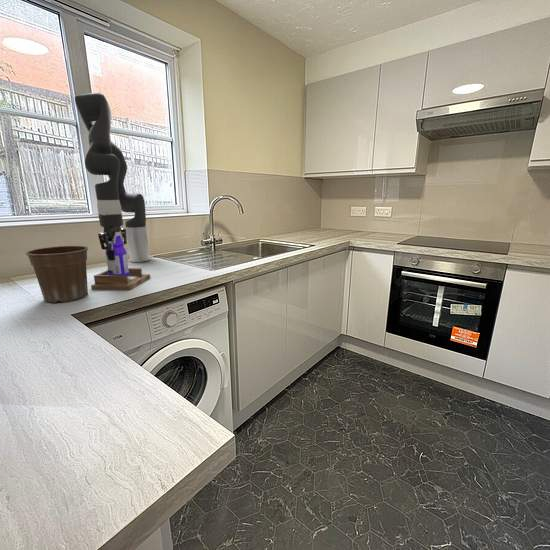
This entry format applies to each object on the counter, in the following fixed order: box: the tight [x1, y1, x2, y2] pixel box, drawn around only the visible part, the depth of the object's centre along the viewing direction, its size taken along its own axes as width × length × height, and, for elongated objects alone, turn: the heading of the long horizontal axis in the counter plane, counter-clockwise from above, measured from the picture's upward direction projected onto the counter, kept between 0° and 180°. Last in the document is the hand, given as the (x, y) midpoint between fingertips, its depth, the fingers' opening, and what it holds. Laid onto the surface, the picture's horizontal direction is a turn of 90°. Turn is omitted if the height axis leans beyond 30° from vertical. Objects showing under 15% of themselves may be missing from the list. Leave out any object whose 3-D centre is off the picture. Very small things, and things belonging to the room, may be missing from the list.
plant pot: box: [25, 245, 89, 304], centre depth 97 cm, size 16×16×16 cm
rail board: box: [90, 267, 151, 291], centre depth 113 cm, size 16×14×4 cm
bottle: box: [105, 232, 130, 277], centre depth 111 cm, size 7×6×17 cm
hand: (116, 258), depth 111 cm, fingers closed on bottle, 6 cm apart
